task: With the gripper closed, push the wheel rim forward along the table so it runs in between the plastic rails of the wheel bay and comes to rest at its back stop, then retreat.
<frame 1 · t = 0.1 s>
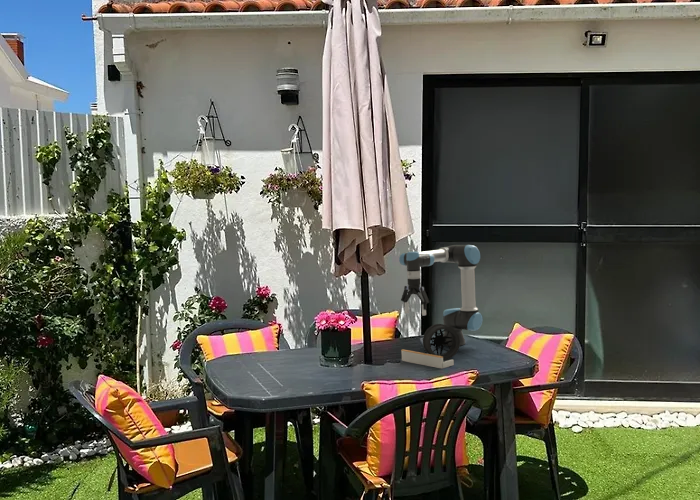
hand: (415, 314, 377), 28 cm above the table, tool pointing down, fingers open, 13 cm apart
wheel rim: (442, 358, 383), on the table
wheel bay: (429, 362, 376), on the table
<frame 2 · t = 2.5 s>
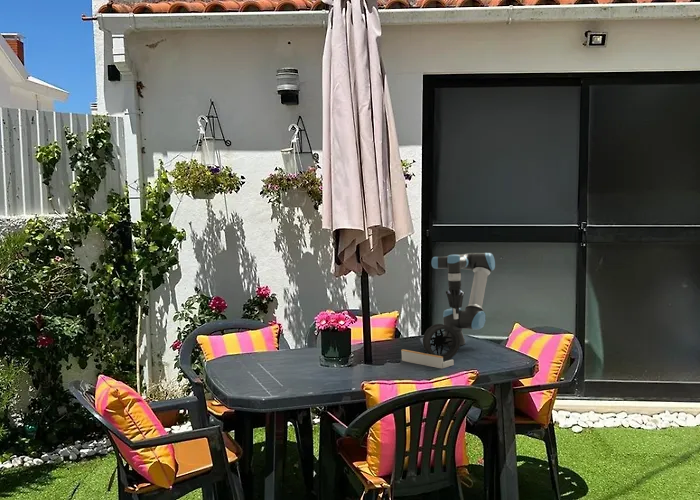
hand: (456, 318, 391), 22 cm above the table, tool pointing down, fingers closed
nothing on the table moved.
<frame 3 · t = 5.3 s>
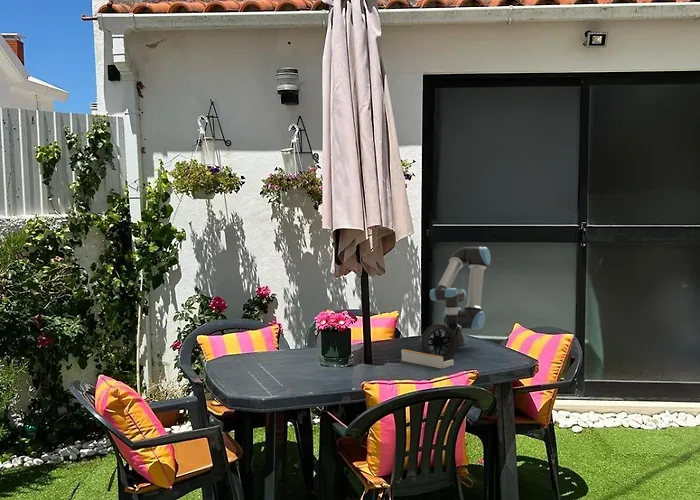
hand: (453, 352, 390), 2 cm above the table, tool pointing down, fingers closed
wheel rim: (440, 359, 382), on the table
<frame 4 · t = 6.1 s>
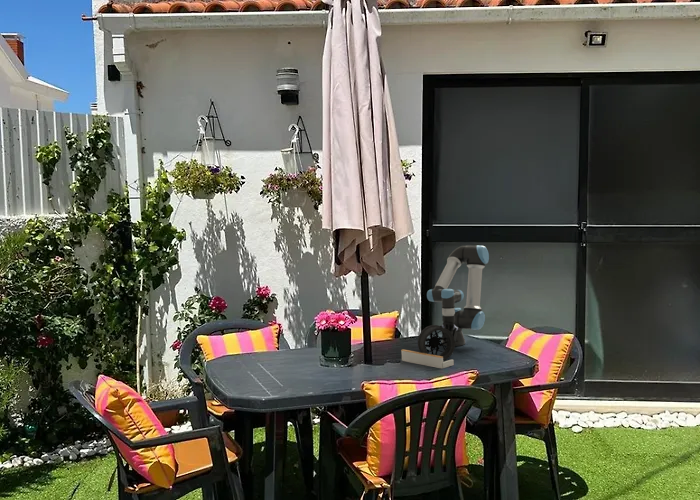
hand: (450, 353, 388), 1 cm above the table, tool pointing down, fingers closed
wheel rim: (437, 360, 380), on the table, touching gripper
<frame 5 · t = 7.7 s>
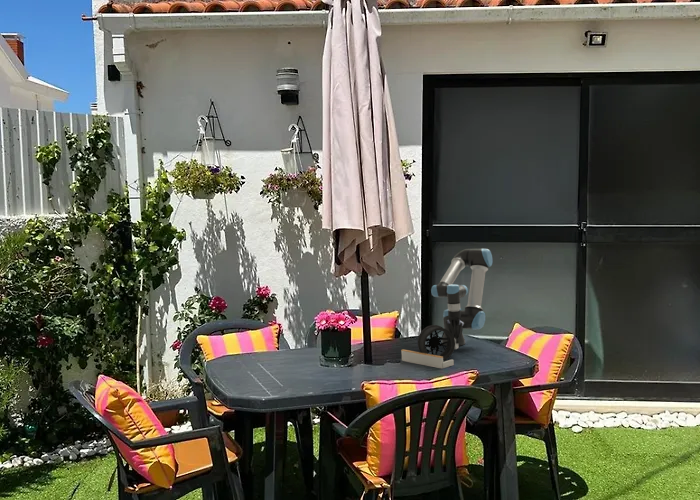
hand: (456, 348, 392), 3 cm above the table, tool pointing down, fingers closed
wheel rim: (437, 360, 380), on the table
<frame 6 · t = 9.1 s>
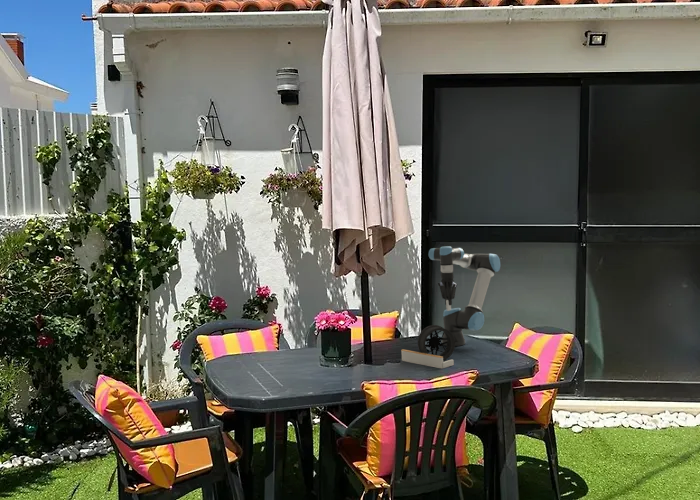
hand: (448, 310, 393), 27 cm above the table, tool pointing down, fingers closed
nothing on the table moved.
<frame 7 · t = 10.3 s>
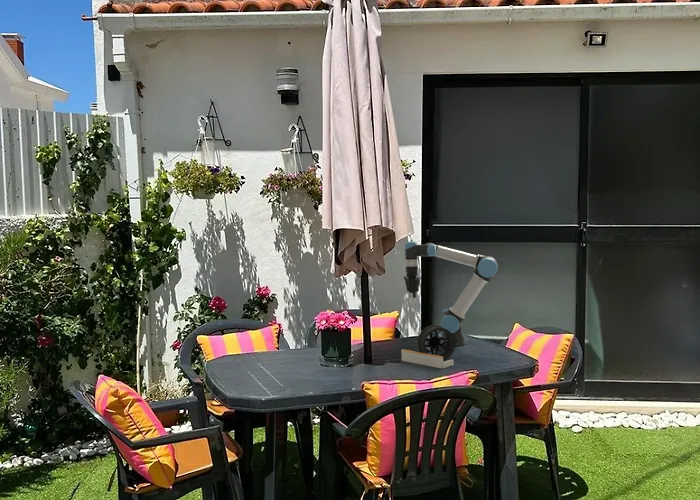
hand: (413, 302, 412), 29 cm above the table, tool pointing down, fingers closed
nothing on the table moved.
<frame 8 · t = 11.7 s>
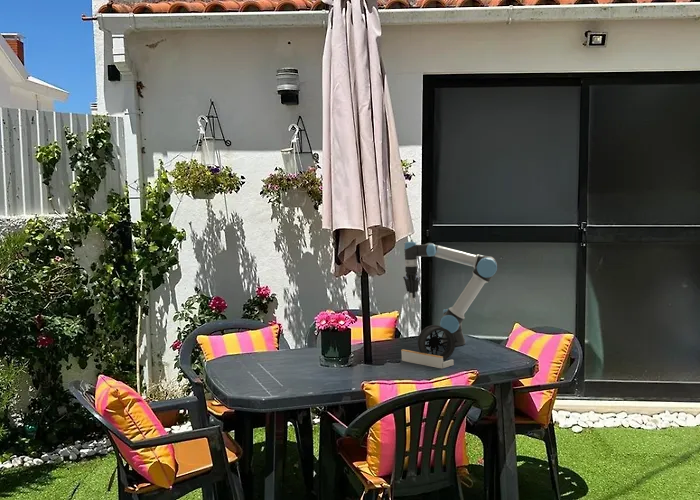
hand: (412, 302, 412), 29 cm above the table, tool pointing down, fingers closed
nothing on the table moved.
at the end: wheel rim inside the target area on the wheel bay (5.3 cm from its centre), point 0.0 cm above the wheel bay's base; wheel rim moved 4.4 cm from its start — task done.
